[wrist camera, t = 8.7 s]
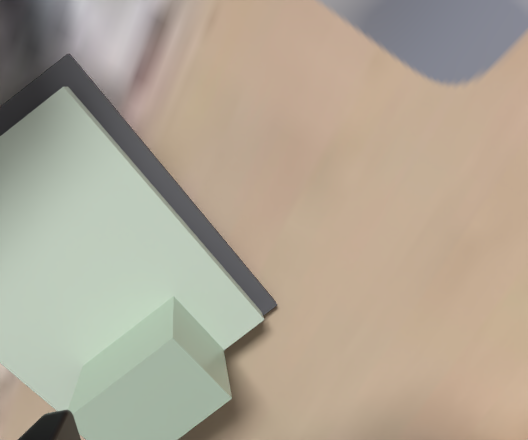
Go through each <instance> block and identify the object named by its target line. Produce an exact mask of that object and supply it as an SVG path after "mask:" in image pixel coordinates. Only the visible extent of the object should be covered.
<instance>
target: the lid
mask: <svg viewBox="0 0 528 440" xmlns="http://www.w3.org/2000/svg"><path fill="white" fill-rule="evenodd" d="M263 320H264V317H263V315H262V312H261V311H260V309H259V308H258V307H257V306H256V305H255V304H254V302H253V301H252V300H251V299H250V298H249V297H248V295H247V294H246V293H245V292H244V291H243V290H242V288H241V287H240V286H239V285H238V284H237V283H236V281H235V280H234V279H233V278H232V277H231V276H230V274H229V273H228V272H227V271H226V270H225V269H224V268H223V266H222V265H221V264H220V263H219V262H218V261H217V259H216V258H215V257H214V256H213V255H212V254H211V252H210V251H209V250H208V249H207V248H206V247H205V245H204V244H203V243H202V242H201V241H200V240H199V238H198V237H197V236H196V235H195V234H194V233H193V231H192V230H191V229H190V228H189V227H188V226H187V224H186V223H185V222H184V221H183V220H182V219H181V217H180V216H179V215H178V214H177V213H176V212H175V210H174V209H173V208H172V207H171V206H170V205H169V204H168V202H167V201H166V200H165V199H164V198H163V197H162V195H161V194H160V193H159V192H158V191H157V190H156V188H155V187H154V186H153V185H152V184H151V183H150V181H149V180H148V179H147V178H146V177H145V176H144V174H143V173H142V172H141V171H140V170H139V169H138V167H137V166H136V165H135V164H134V163H133V162H132V160H131V159H130V158H129V157H128V156H127V155H126V153H125V152H124V151H123V150H122V149H121V148H120V146H119V145H118V144H117V143H116V142H115V141H114V139H113V138H112V137H111V136H110V135H109V134H108V133H107V131H106V130H105V129H104V128H103V127H102V126H101V124H100V123H99V122H98V121H97V120H96V119H95V117H94V116H93V115H92V114H91V113H90V112H89V110H88V109H87V108H86V107H85V106H84V105H83V103H82V102H81V101H80V100H79V99H78V98H77V96H76V95H75V94H74V93H73V92H72V91H71V89H70V88H69V87H62V88H61V89H60V90H58V91H57V92H56V93H54V94H53V95H52V96H51V97H49V98H48V99H47V100H46V101H44V102H43V103H42V104H41V105H39V106H38V107H37V108H36V109H34V110H33V111H32V112H30V113H29V114H28V115H27V116H25V117H24V118H23V119H22V120H20V121H19V122H18V123H17V124H15V125H14V126H13V127H11V128H10V129H9V130H8V131H6V132H5V133H4V134H3V135H1V136H0V363H1V364H2V365H3V366H4V367H6V368H7V369H8V370H9V371H10V372H11V373H13V374H14V375H15V376H16V377H17V378H19V379H20V380H21V381H22V382H23V383H25V384H26V385H27V386H28V387H29V388H30V389H32V390H33V391H34V392H35V393H36V394H38V395H39V396H40V397H41V398H42V399H44V400H45V401H46V402H47V403H48V404H49V405H51V406H52V407H53V408H54V409H55V410H57V411H61V410H69V411H71V412H72V414H73V416H74V419H75V422H76V426H77V429H78V432H79V434H80V435H81V436H83V437H84V438H85V439H86V440H178V439H179V438H180V437H182V436H183V435H184V434H186V433H187V432H188V431H190V430H191V429H192V428H194V427H195V426H196V425H198V424H199V423H200V422H202V421H203V420H204V419H206V418H207V417H208V416H209V415H211V414H212V413H213V412H215V411H216V410H217V409H219V408H220V407H221V406H223V405H224V404H225V403H227V402H228V401H229V400H231V399H232V395H231V390H230V384H229V378H228V372H227V367H226V361H225V355H224V350H225V349H226V348H228V347H229V346H230V345H232V344H233V343H234V342H236V341H237V340H238V339H240V338H241V337H242V336H244V335H245V334H246V333H247V332H249V331H250V330H251V329H253V328H254V327H255V326H257V325H258V324H259V323H261V322H262V321H263Z"/></svg>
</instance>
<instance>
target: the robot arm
mask: <svg viewBox="0 0 528 440" xmlns="http://www.w3.org/2000/svg"><path fill="white" fill-rule="evenodd" d="M18 440H81V439H80V435H79V432H78V429H77V426H76V422H75V419H74V416H73V414H72V412H71V411H69V410H61V411H56V412H52V413H47V414H45V415H43V416H42V417H41V418H40V419H39V420H38V421H37V422H36V423H35V424H34V425H33V426H32V427H31V428H30V429H29V430H27V431H26V432H25V433H24V434H23V435H22V436H21V437H20V438H19V439H18Z"/></svg>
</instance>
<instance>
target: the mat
mask: <svg viewBox="0 0 528 440" xmlns="http://www.w3.org/2000/svg"><path fill="white" fill-rule="evenodd" d="M62 87H69V88H70V89H71V91H72V92H73V93H74V94H75V95H76V96H77V98H78V99H79V100H80V101H81V102H82V103H83V105H84V106H85V107H86V108H87V109H88V110H89V112H90V113H91V114H92V115H93V116H94V117H95V119H96V120H97V121H98V122H99V123H100V124H101V126H102V127H103V128H104V129H105V130H106V131H107V133H108V134H109V135H110V136H111V137H112V138H113V139H114V141H115V142H116V143H117V144H118V145H119V146H120V148H121V149H122V150H123V151H124V152H125V153H126V155H127V156H128V157H129V158H130V159H131V160H132V162H133V163H134V164H135V165H136V166H137V167H138V169H139V170H140V171H141V172H142V173H143V174H144V176H145V177H146V178H147V179H148V180H149V181H150V183H151V184H152V185H153V186H154V187H155V188H156V190H157V191H158V192H159V193H160V194H161V195H162V197H163V198H164V199H165V200H166V201H167V202H168V204H169V205H170V206H171V207H172V208H173V209H174V210H175V212H176V213H177V214H178V215H179V216H180V217H181V219H182V220H183V221H184V222H185V223H186V224H187V226H188V227H189V228H190V229H191V230H192V231H193V233H194V234H195V235H196V236H197V237H198V238H199V240H200V241H201V242H202V243H203V244H204V245H205V247H206V248H207V249H208V250H209V251H210V252H211V254H212V255H213V256H214V257H215V258H216V259H217V261H218V262H219V263H220V264H221V265H222V266H223V268H224V269H225V270H226V271H227V272H228V273H229V274H230V276H231V277H232V278H233V279H234V280H235V281H236V283H237V284H238V285H239V286H240V287H241V288H242V290H243V291H244V292H245V293H246V294H247V295H248V297H249V298H250V299H251V300H252V301H253V302H254V304H255V305H256V306H257V307H258V308H259V309H260V311H261V312H262V315H263V316H264V315H265V314H266V313H268V312H269V311H270V310H272V309H273V308H274V307H275V306H277V304H276V301H275V300H274V299H273V298H272V297H271V295H270V294H269V293H268V292H267V291H266V289H265V288H264V287H263V286H262V285H261V283H260V282H259V281H258V280H257V279H256V277H255V276H254V275H253V274H252V273H251V271H250V270H249V269H248V268H247V267H246V265H245V264H244V263H243V262H242V260H241V259H240V258H239V257H238V256H237V254H236V253H235V252H234V251H233V250H232V248H231V247H230V246H229V245H228V244H227V242H226V241H225V240H224V239H223V238H222V236H221V235H220V234H219V233H218V232H217V230H216V229H215V228H214V227H213V226H212V224H211V223H210V222H209V221H208V220H207V218H206V217H205V216H204V215H203V214H202V212H201V211H200V210H199V209H198V208H197V206H196V205H195V204H194V203H193V202H192V200H191V199H190V198H189V197H188V195H187V194H186V193H185V192H184V191H183V189H182V188H181V187H180V186H179V185H178V183H177V182H176V181H175V180H174V179H173V177H172V176H171V175H170V174H169V173H168V171H167V170H166V169H165V168H164V167H163V165H162V164H161V163H160V162H159V161H158V159H157V158H156V157H155V156H154V155H153V153H152V152H151V151H150V150H149V149H148V147H147V146H146V145H145V144H144V143H143V141H142V140H141V139H140V138H139V137H138V135H137V134H136V133H135V132H134V130H133V129H132V128H131V127H130V126H129V124H128V123H127V122H126V121H125V120H124V118H123V117H122V116H121V115H120V114H119V112H118V111H117V110H116V109H115V108H114V106H113V105H112V104H111V103H110V102H109V100H108V99H107V98H106V97H105V96H104V94H103V93H102V92H101V91H100V90H99V88H98V87H97V86H96V85H95V84H94V82H93V81H92V80H91V79H90V78H89V76H88V75H87V74H86V73H85V71H84V70H83V69H82V68H81V67H80V65H79V64H78V63H77V62H76V61H75V59H74V58H73V57H72V56H71V55H70V54H67V55H66V56H64V57H63V58H62V59H61V60H59V61H58V62H57V63H55V64H54V65H53V66H52V67H50V68H49V69H48V70H47V71H45V72H44V73H43V74H41V75H40V76H39V77H38V78H36V79H35V80H34V81H33V82H31V83H30V84H29V85H28V86H26V87H25V88H24V89H22V90H21V91H20V92H19V93H17V94H16V95H15V96H14V97H12V98H11V99H10V100H8V101H7V102H6V103H5V104H3V105H2V106H1V107H0V136H1V135H3V134H4V133H5V132H6V131H8V130H9V129H10V128H11V127H13V126H14V125H15V124H17V123H18V122H19V121H20V120H22V119H23V118H24V117H25V116H27V115H28V114H29V113H30V112H32V111H33V110H34V109H36V108H37V107H38V106H39V105H41V104H42V103H43V102H44V101H46V100H47V99H48V98H49V97H51V96H52V95H53V94H54V93H56V92H57V91H58V90H60V89H61V88H62Z"/></svg>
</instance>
